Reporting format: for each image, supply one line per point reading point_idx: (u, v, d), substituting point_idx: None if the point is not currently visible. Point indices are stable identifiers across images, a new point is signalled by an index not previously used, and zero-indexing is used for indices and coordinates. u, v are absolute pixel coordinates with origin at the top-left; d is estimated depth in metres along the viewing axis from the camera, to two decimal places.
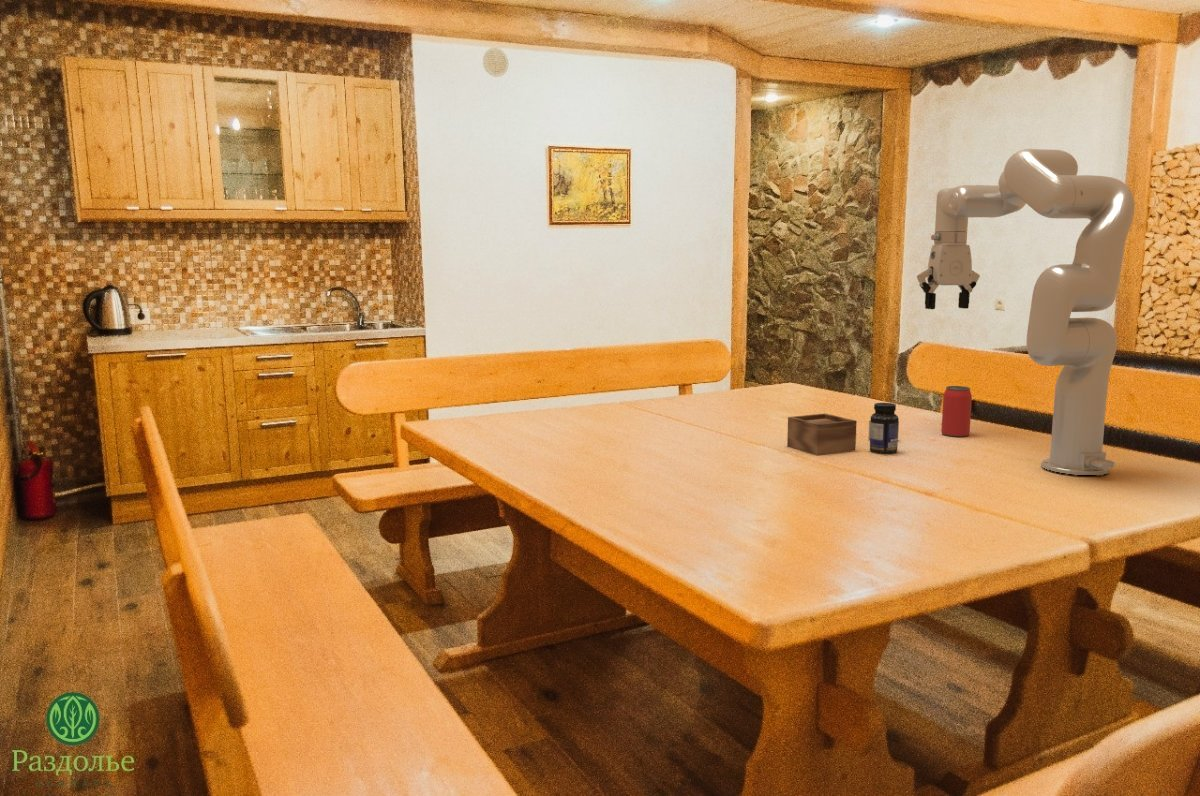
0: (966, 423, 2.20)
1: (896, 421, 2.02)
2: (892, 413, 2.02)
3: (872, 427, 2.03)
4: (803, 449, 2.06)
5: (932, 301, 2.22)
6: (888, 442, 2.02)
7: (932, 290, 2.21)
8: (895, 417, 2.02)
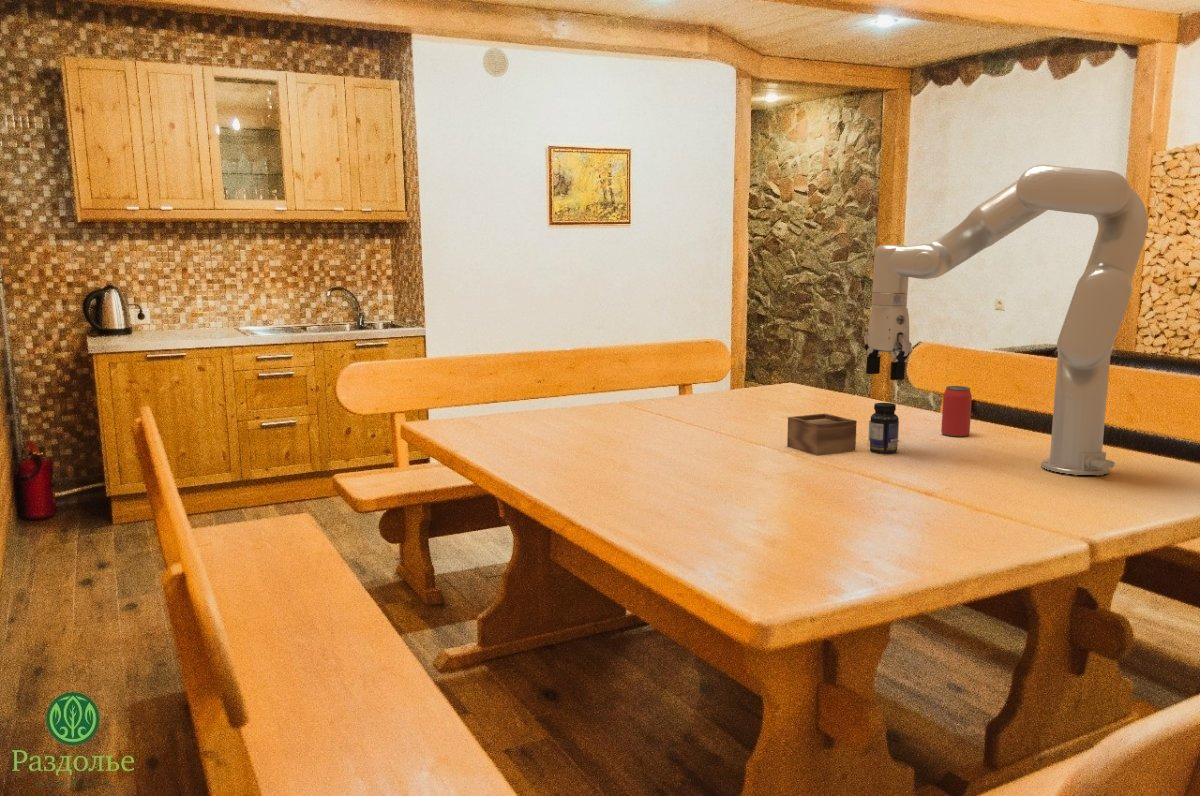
0: (966, 423, 2.20)
1: (896, 421, 2.02)
2: (892, 413, 2.02)
3: (872, 427, 2.03)
4: (803, 449, 2.06)
5: (903, 371, 1.98)
6: (888, 442, 2.02)
7: None
8: (895, 417, 2.02)
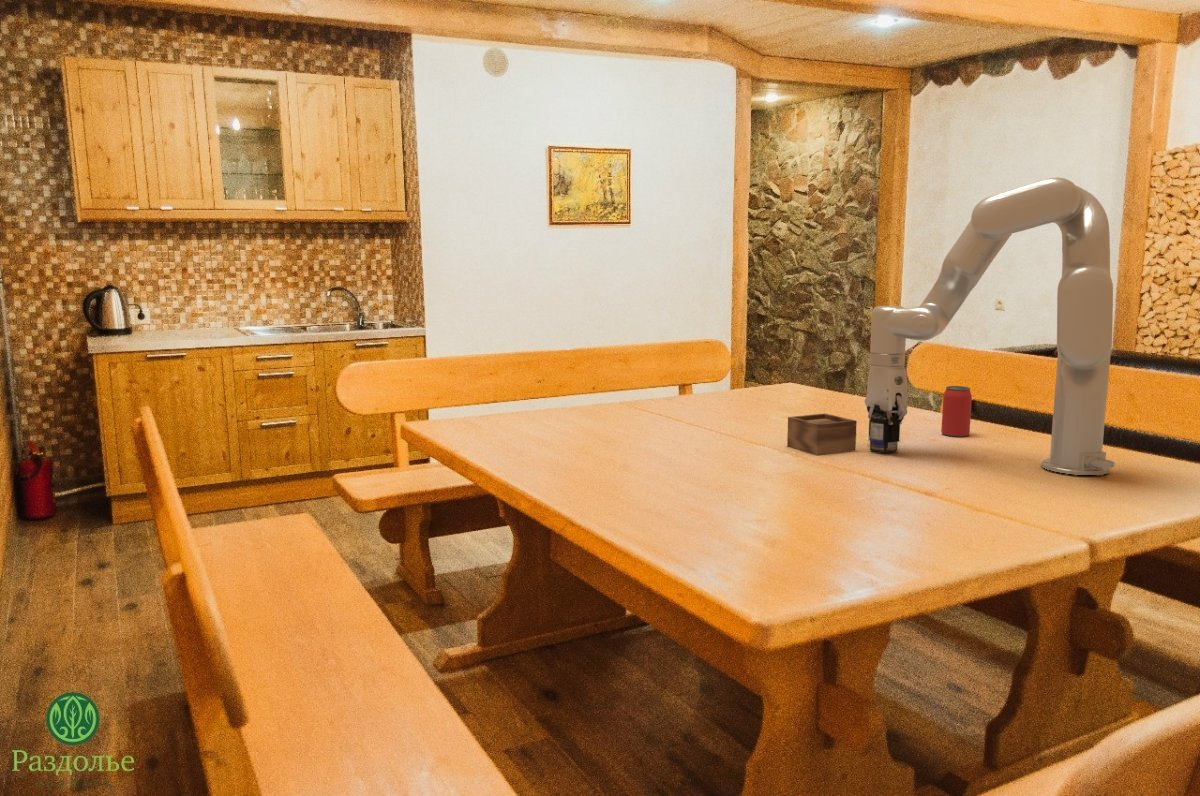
0: (966, 423, 2.20)
1: None
2: None
3: (872, 427, 2.03)
4: (803, 449, 2.06)
5: (898, 433, 2.01)
6: (888, 442, 2.02)
7: None
8: None
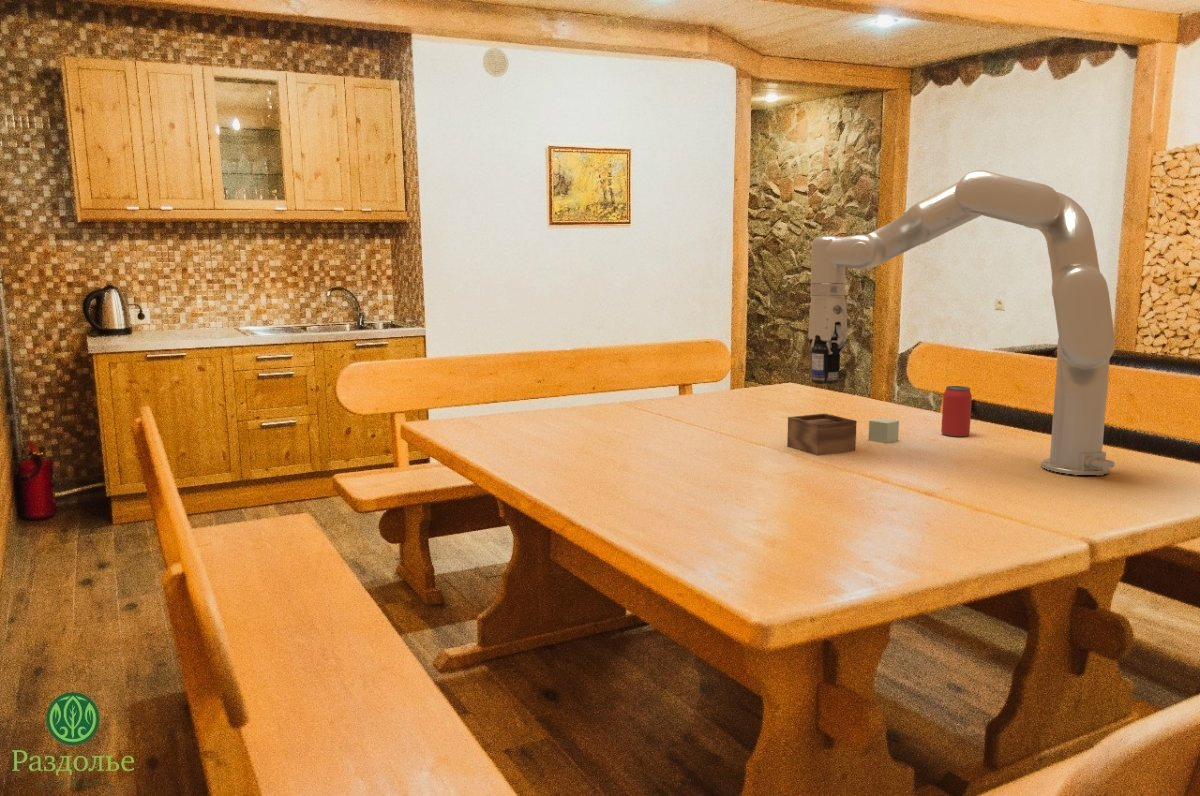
0: (966, 423, 2.20)
1: None
2: None
3: (813, 358, 2.05)
4: (803, 449, 2.06)
5: (838, 363, 2.02)
6: (828, 372, 2.03)
7: None
8: None
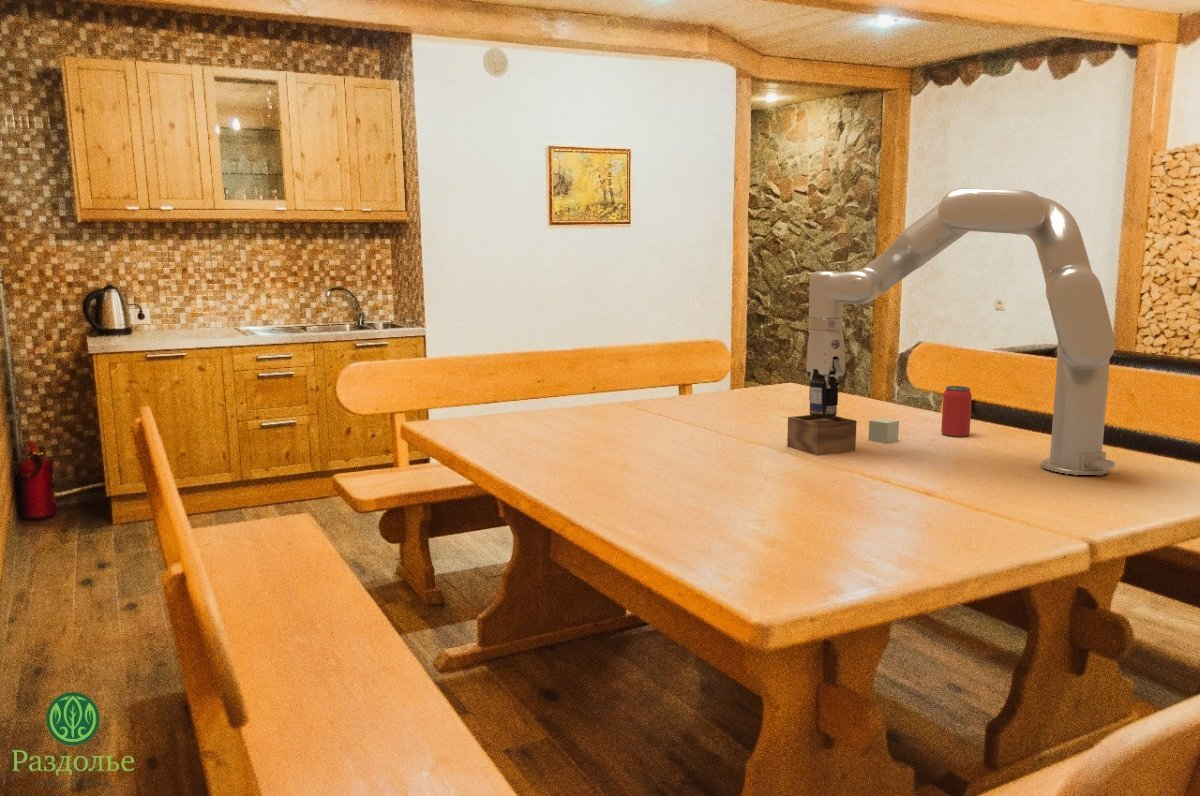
0: (966, 423, 2.20)
1: None
2: None
3: (811, 391, 2.06)
4: (803, 449, 2.06)
5: (836, 397, 2.03)
6: (826, 406, 2.04)
7: None
8: None
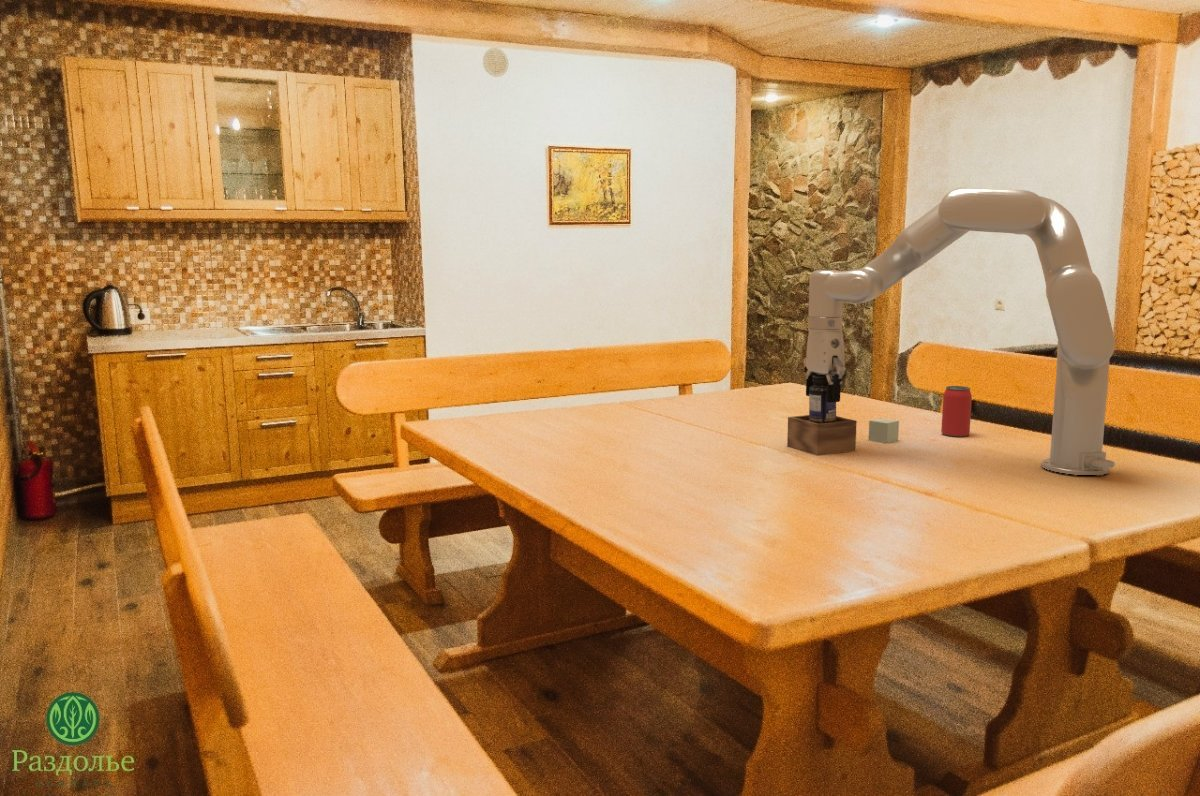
0: (966, 423, 2.20)
1: None
2: None
3: (810, 399, 2.06)
4: (803, 449, 2.06)
5: (838, 393, 2.02)
6: (826, 413, 2.04)
7: None
8: None
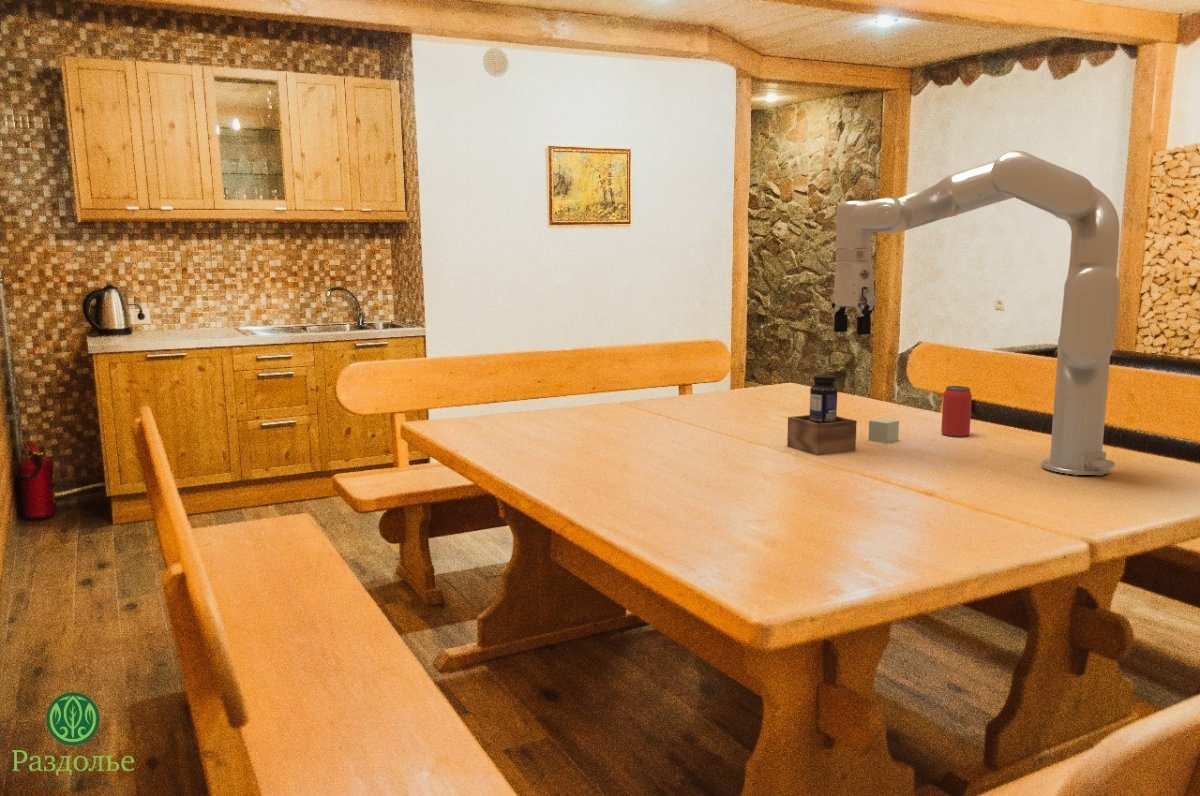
0: (966, 423, 2.20)
1: (834, 392, 2.04)
2: (831, 384, 2.05)
3: (811, 398, 2.06)
4: (803, 449, 2.06)
5: (869, 325, 1.98)
6: (826, 413, 2.04)
7: None
8: (833, 388, 2.04)
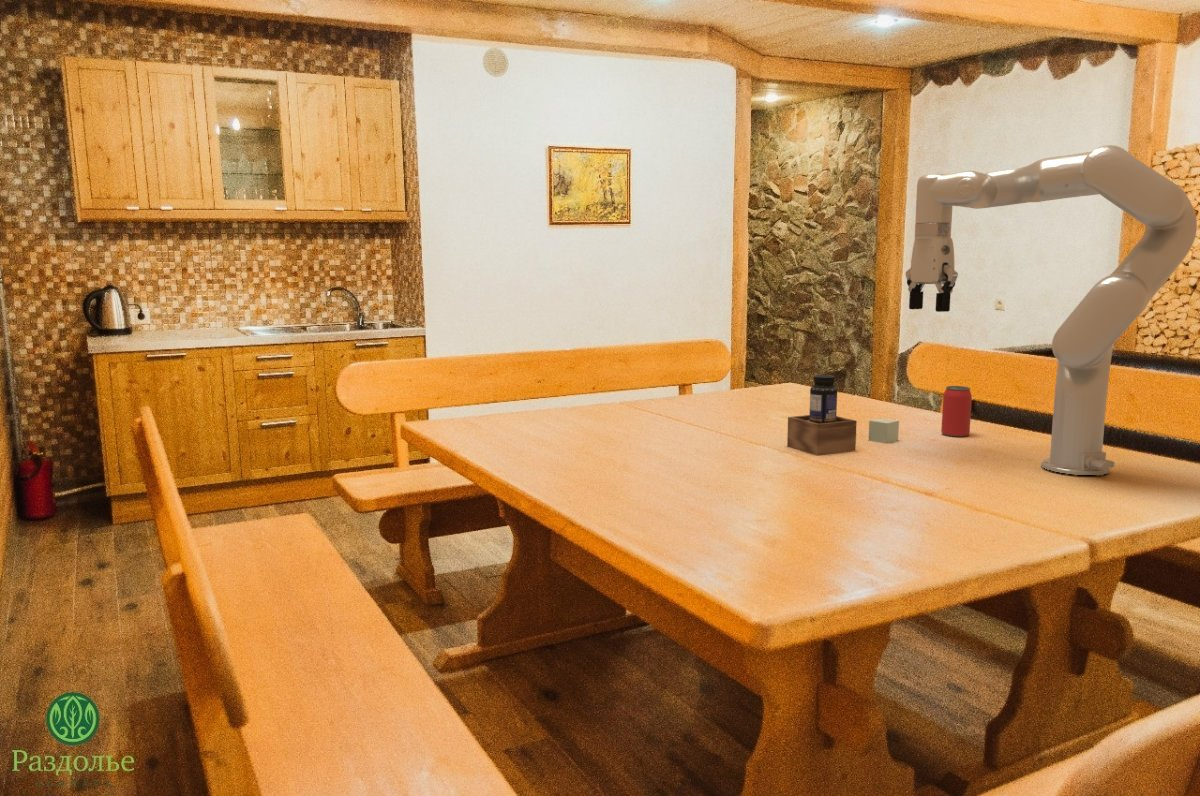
0: (966, 423, 2.20)
1: (834, 392, 2.04)
2: (830, 385, 2.05)
3: (811, 398, 2.06)
4: (803, 449, 2.06)
5: None
6: (826, 413, 2.04)
7: None
8: (833, 389, 2.04)
